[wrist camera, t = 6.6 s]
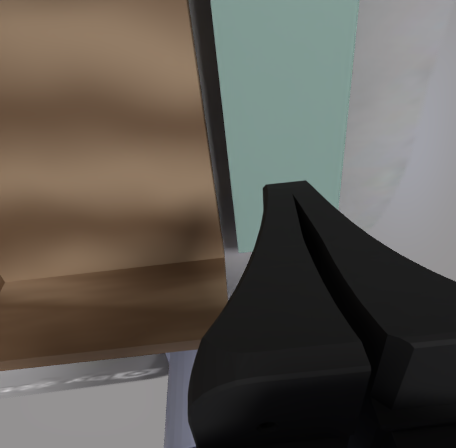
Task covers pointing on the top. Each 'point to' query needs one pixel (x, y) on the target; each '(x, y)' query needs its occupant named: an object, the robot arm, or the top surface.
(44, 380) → the top surface
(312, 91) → the green flat rectangular panel
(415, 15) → the top surface
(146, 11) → the wooden drawer
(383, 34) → the top surface
